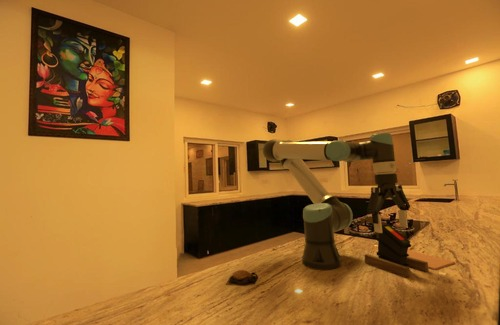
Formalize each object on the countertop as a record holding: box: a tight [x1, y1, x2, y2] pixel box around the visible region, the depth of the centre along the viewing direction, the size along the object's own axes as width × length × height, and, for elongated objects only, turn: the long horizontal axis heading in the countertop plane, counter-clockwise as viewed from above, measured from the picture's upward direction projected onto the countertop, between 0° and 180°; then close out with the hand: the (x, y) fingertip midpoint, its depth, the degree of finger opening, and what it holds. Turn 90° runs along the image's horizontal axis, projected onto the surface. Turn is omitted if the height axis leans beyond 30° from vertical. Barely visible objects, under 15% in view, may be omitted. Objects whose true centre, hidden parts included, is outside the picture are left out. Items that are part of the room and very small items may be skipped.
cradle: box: [364, 253, 430, 279], centre depth 88 cm, size 11×17×3 cm, turn 22°
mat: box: [407, 249, 456, 271], centre depth 94 cm, size 12×18×1 cm, turn 22°
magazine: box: [376, 223, 412, 267], centre depth 89 cm, size 4×13×15 cm, turn 12°
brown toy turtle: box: [225, 269, 259, 286], centre depth 85 cm, size 11×8×4 cm
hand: (391, 229), depth 89 cm, fingers open, 13 cm apart
